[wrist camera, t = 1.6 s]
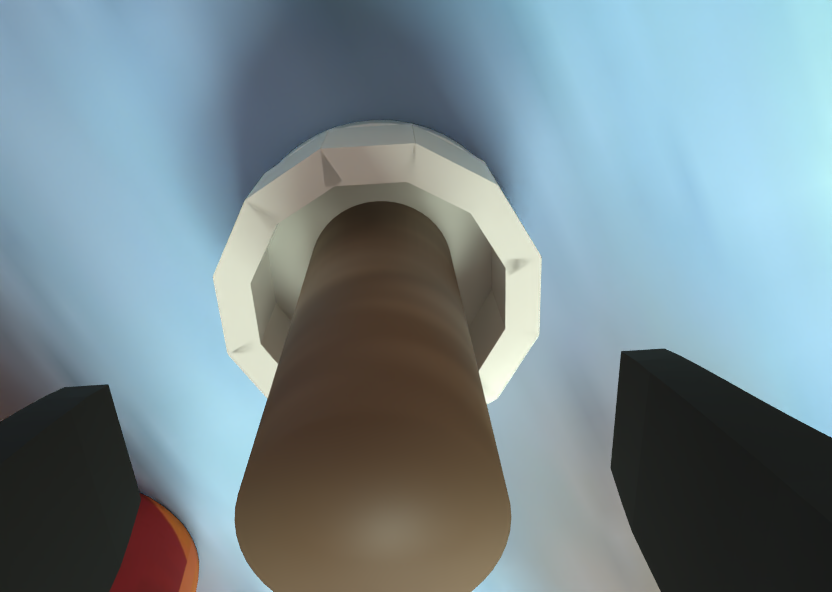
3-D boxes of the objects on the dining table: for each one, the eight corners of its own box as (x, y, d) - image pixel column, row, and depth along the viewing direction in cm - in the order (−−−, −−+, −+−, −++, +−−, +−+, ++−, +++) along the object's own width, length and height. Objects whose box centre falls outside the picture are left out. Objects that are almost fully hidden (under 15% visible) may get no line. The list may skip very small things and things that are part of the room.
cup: (517, 111, 14) (545, 135, 12) (514, 364, 17) (536, 428, 14) (225, 128, 14) (189, 156, 12) (267, 380, 17) (245, 446, 14)
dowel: (449, 196, 14) (512, 401, 7) (453, 327, 16) (509, 615, 8) (303, 205, 14) (211, 420, 7) (319, 335, 16) (257, 631, 8)
